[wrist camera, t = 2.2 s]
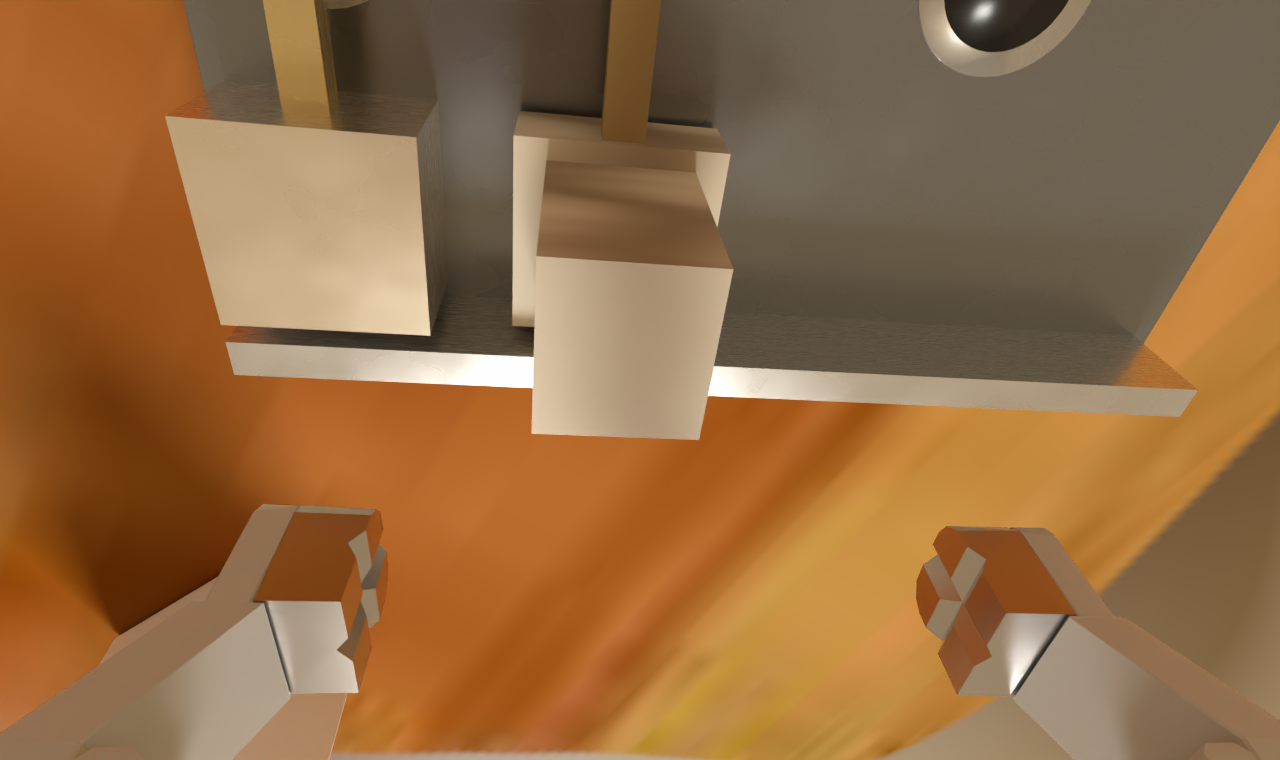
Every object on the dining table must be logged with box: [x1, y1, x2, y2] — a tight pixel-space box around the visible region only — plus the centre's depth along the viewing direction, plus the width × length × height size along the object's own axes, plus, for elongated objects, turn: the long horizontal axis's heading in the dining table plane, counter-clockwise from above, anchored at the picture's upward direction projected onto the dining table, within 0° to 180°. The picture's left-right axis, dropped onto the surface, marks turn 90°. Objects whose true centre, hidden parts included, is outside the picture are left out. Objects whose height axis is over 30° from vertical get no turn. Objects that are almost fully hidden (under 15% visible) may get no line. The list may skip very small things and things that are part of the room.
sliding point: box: [512, 0, 733, 440], centre depth 15 cm, size 5×10×7 cm, turn 174°
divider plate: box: [165, 0, 1280, 417], centre depth 18 cm, size 28×14×4 cm, turn 83°
